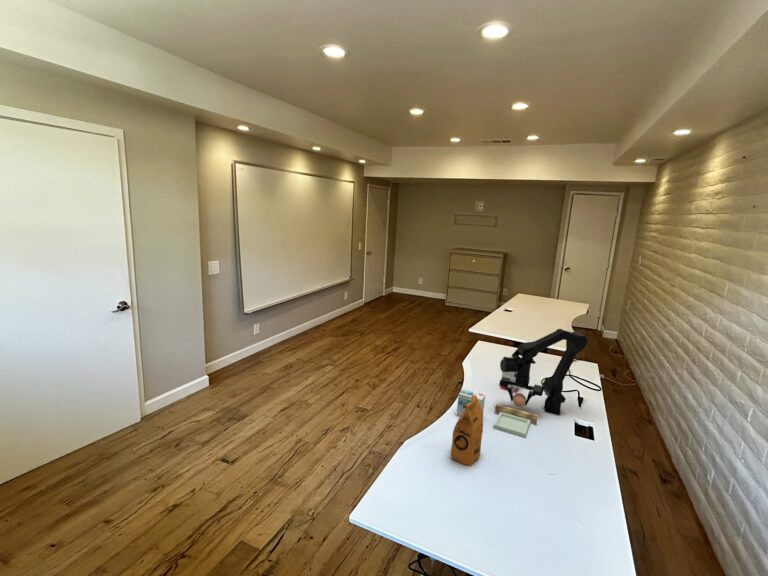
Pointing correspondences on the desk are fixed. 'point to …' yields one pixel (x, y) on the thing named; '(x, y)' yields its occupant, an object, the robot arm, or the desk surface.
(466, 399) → the light bulb box
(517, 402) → the ball
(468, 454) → the coffee package
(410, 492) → the desk surface
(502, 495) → the desk surface
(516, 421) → the sage tray
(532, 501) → the desk surface
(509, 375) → the ink box
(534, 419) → the oak rail
